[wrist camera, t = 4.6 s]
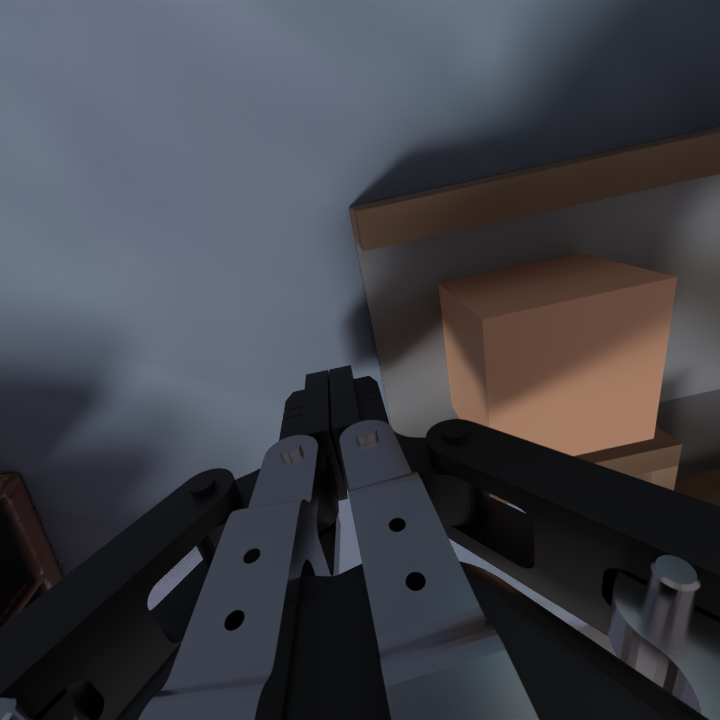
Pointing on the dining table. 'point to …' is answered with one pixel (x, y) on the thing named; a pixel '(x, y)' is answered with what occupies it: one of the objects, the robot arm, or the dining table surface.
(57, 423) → the dining table surface
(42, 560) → the letter holder
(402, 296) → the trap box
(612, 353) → the block
